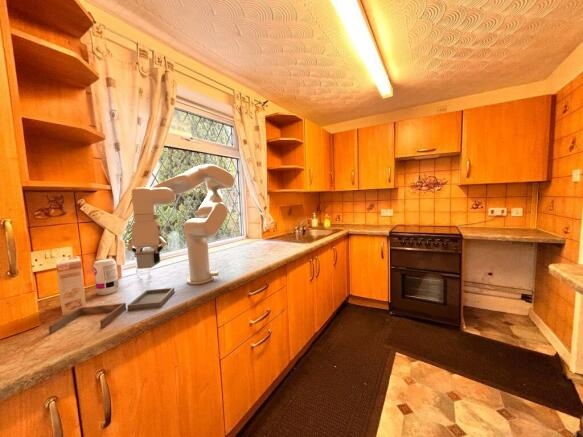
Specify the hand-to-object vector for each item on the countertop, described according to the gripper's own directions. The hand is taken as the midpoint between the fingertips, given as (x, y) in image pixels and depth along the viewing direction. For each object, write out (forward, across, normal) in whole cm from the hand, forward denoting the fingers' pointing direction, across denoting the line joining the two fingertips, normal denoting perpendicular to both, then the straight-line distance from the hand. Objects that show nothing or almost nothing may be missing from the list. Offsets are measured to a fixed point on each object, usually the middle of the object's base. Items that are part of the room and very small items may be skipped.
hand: (149, 262), depth 97 cm
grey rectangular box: (+1, 0, 0) cm, 1 cm away
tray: (+16, 0, 0) cm, 16 cm away
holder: (+16, +15, +13) cm, 25 cm away
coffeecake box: (+16, +30, -1) cm, 34 cm away
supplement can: (+16, +26, -16) cm, 35 cm away
